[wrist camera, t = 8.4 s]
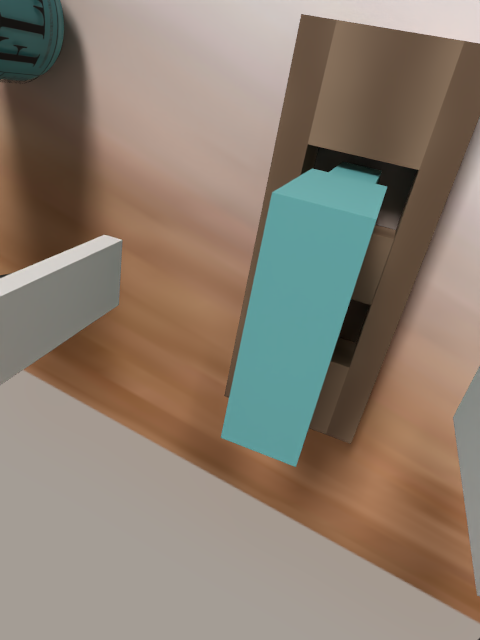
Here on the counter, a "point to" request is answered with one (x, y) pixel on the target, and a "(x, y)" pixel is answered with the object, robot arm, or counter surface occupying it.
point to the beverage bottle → (29, 37)
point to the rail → (379, 144)
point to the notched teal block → (299, 304)
